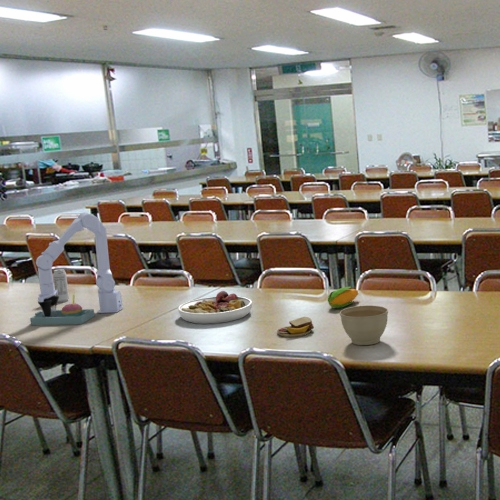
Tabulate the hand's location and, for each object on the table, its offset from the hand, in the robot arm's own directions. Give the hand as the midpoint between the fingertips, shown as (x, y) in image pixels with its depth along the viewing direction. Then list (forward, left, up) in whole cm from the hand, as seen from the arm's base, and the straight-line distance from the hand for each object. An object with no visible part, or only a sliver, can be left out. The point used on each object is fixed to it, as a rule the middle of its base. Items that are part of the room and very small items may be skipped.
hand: (50, 314), depth 331 cm
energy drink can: (+12, -37, -3) cm, 39 cm away
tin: (0, 0, -3) cm, 3 cm away
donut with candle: (-10, 0, -3) cm, 10 cm away
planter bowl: (-135, +39, -3) cm, 141 cm away
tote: (-6, 0, -3) cm, 6 cm away
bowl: (-72, -2, -3) cm, 72 cm away
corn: (-123, -14, -3) cm, 124 cm away
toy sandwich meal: (-109, +25, -3) cm, 112 cm away
